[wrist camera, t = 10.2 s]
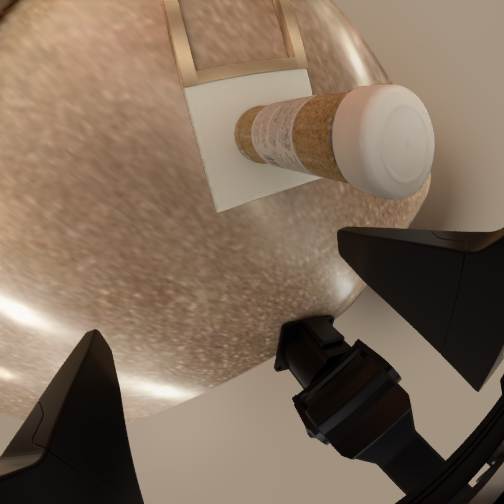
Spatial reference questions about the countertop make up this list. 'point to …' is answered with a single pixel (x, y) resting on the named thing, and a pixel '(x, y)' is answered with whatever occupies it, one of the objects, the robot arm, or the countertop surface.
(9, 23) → the countertop surface
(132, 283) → the countertop surface
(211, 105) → the mat
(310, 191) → the countertop surface
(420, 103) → the sprinkles bottle
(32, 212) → the countertop surface
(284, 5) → the frame
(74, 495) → the robot arm
